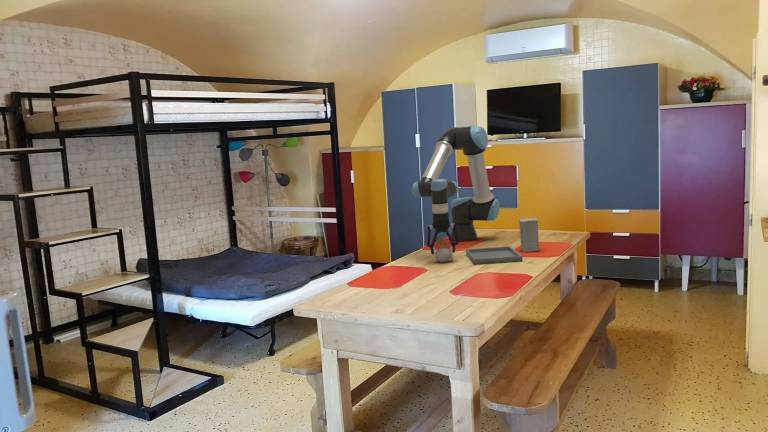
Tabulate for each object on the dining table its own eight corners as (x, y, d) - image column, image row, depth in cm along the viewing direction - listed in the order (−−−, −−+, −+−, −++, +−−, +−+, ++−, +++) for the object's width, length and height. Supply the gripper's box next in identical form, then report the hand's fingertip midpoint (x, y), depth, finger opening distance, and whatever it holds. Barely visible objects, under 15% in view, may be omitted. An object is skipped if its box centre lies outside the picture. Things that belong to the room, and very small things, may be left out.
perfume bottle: (446, 264, 284) (444, 238, 282) (428, 262, 290) (427, 237, 288) (454, 260, 290) (453, 235, 288) (437, 259, 296) (435, 234, 294)
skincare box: (537, 248, 304) (536, 217, 302) (539, 251, 297) (538, 219, 295) (520, 249, 305) (518, 218, 303) (521, 252, 298) (520, 220, 296)
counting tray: (466, 254, 303) (465, 249, 302) (510, 251, 303) (510, 246, 303) (474, 264, 279) (474, 259, 279) (522, 261, 279) (522, 256, 279)
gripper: (419, 215, 282) (422, 263, 286) (463, 211, 283) (466, 260, 286) (418, 212, 290) (421, 260, 293) (461, 209, 290) (463, 257, 293)
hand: (443, 260), depth 289 cm, fingers closed on perfume bottle, 7 cm apart
